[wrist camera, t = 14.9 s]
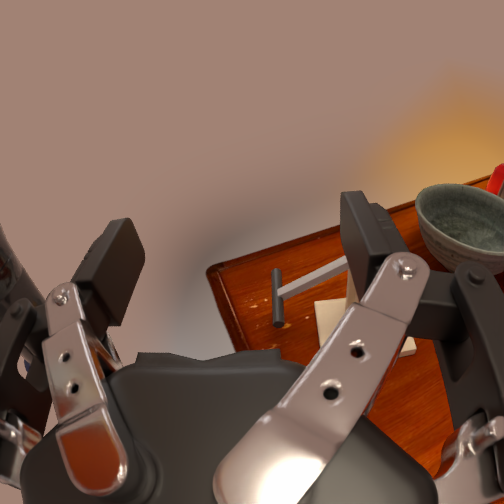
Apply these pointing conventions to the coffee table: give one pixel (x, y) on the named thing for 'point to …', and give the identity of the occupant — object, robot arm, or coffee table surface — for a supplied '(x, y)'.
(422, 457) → the coffee table surface
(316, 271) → the grey t-shaped bar
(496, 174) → the toaster
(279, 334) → the coffee table surface
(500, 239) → the bowl
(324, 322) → the bracket
